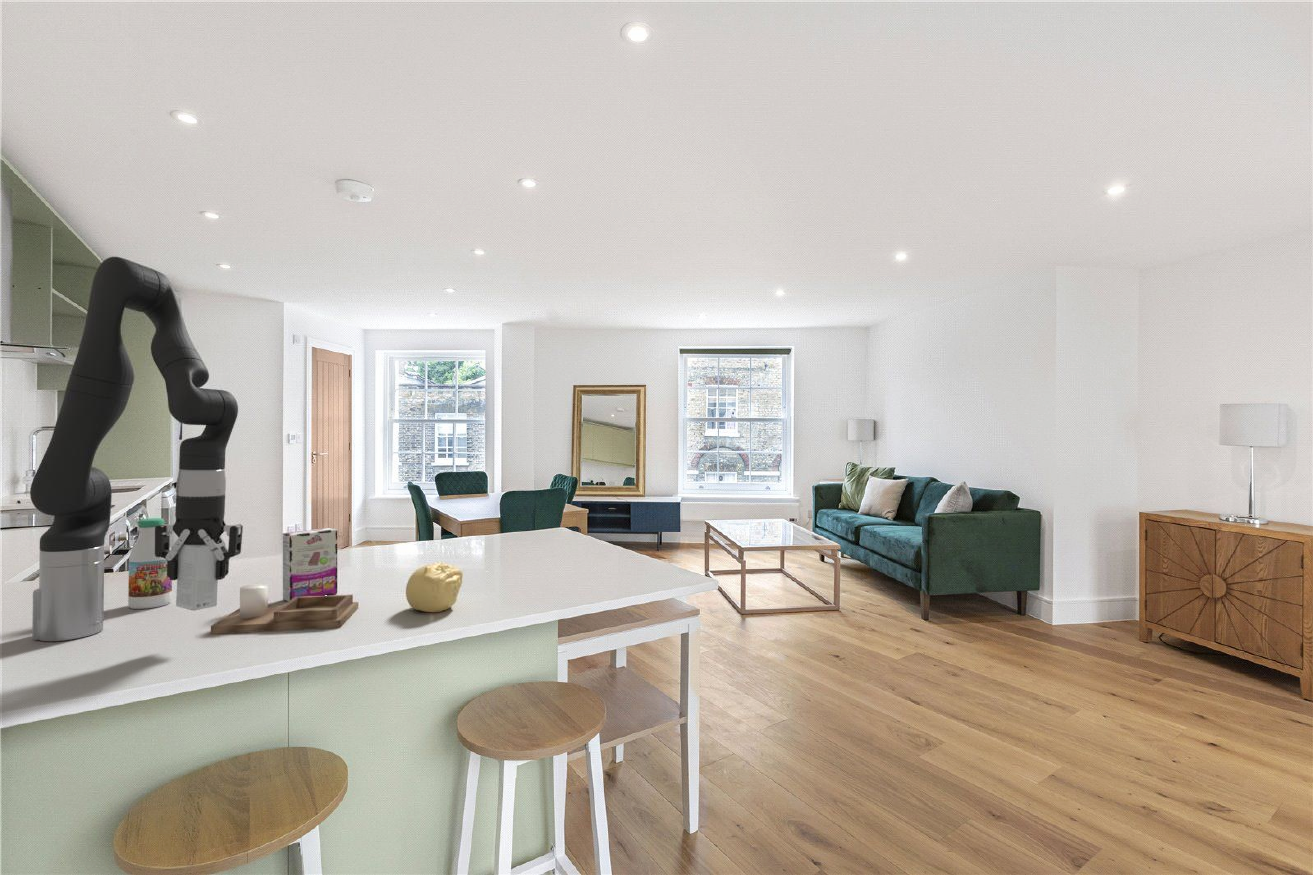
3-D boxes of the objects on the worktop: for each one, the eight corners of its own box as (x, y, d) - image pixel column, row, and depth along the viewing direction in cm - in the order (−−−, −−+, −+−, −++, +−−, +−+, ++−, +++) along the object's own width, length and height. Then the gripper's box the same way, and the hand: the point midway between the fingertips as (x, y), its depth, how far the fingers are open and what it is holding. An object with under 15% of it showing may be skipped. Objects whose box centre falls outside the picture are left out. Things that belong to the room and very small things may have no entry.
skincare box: (217, 606, 115) (220, 543, 115) (192, 611, 111) (195, 547, 111) (199, 601, 118) (202, 540, 118) (174, 606, 114) (177, 543, 114)
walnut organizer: (210, 633, 121) (211, 596, 121) (242, 613, 134) (242, 579, 134) (340, 627, 126) (341, 591, 126) (358, 608, 140) (358, 576, 140)
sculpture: (443, 618, 134) (444, 569, 134) (395, 614, 136) (396, 566, 136) (469, 604, 145) (470, 559, 145) (424, 600, 147) (425, 556, 147)
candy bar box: (328, 590, 154) (329, 527, 154) (338, 594, 151) (338, 529, 151) (280, 599, 145) (281, 532, 145) (289, 603, 142) (290, 534, 142)
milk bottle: (121, 606, 138) (122, 519, 137) (161, 598, 144) (162, 515, 144) (137, 611, 134) (138, 522, 134) (178, 603, 141) (179, 518, 141)
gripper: (252, 491, 120) (248, 574, 120) (169, 490, 117) (166, 574, 117) (233, 495, 112) (230, 583, 112) (145, 494, 109) (141, 584, 109)
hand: (197, 579), depth 115 cm, fingers closed on skincare box, 7 cm apart
